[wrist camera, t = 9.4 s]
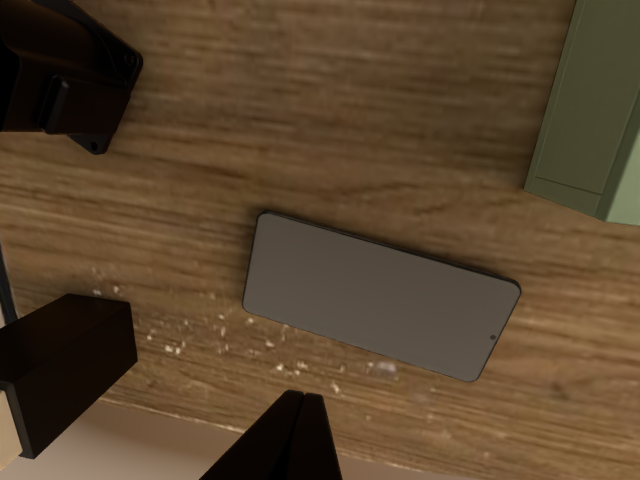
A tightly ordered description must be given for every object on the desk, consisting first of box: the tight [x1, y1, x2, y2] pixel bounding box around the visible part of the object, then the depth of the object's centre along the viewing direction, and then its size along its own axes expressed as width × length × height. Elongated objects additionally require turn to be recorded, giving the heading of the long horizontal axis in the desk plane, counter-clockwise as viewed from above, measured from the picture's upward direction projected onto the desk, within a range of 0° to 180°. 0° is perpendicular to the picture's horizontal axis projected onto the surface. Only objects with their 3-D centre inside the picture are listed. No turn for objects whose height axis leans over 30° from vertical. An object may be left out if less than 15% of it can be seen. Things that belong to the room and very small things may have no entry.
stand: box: [0, 294, 137, 459], centre depth 21 cm, size 5×5×8 cm
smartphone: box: [242, 210, 522, 382], centre depth 19 cm, size 7×1×15 cm
